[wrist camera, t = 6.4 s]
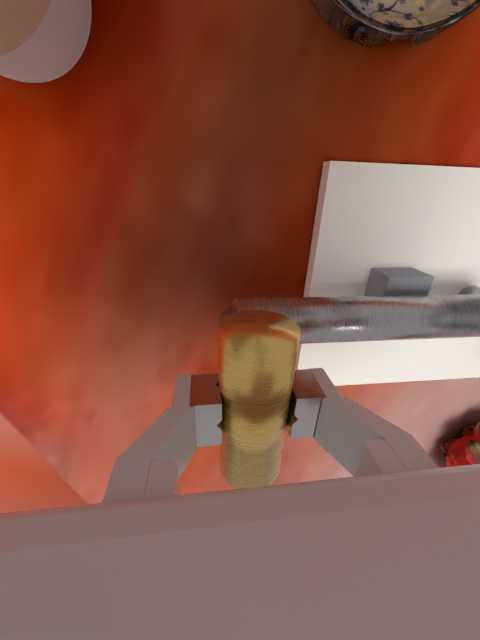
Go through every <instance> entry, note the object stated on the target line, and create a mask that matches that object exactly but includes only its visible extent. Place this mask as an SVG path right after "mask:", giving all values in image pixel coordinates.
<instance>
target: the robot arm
mask: <svg viewBox="0 0 480 640" xmlns="http://www.w3.org/2000/svg"><path fill="white" fill-rule="evenodd" d="M221 420H222V400H221V391H220V388H219V374H192V375H191V374H189V375H177V377H176V383H175V390H174V398H173V405H172V408H167V409H166V410H165V411H164V412H163V413H162V414H161V415H160V416H159V417H158V418H157V419H156V420H155V421H154V422H153V423H152V424H151V425H150V426H149V427H148V428H147V429H146V430H145V431H144V432H143V433H142V434H141V435H140V436H139V437H138V438H137V439H136V440H135V441H134V442H133V443H132V444H131V445H130V446H129V447H128V448H127V449H126V450H125V451H124V452H123V453H122V454H121V455H120V456H119V457H118V458H117V459H116V461H115V464H114V467H113V471H112V474H111V477H110V480H109V483H108V486H107V490H106V493H105V496H104V499H103V502H102V503H97V504H87V505H78V506H69V507H58V508H49V509H39V510H29V511H20V512H10V513H1V514H0V640H480V464H473V465H464V466H454V467H444V468H438V467H437V465H436V464H435V463H434V462H433V460H432V459H431V458H430V457H429V456H428V454H427V453H426V452H425V451H424V449H423V448H422V447H421V446H420V445H419V443H418V442H417V441H416V440H415V439H414V437H413V436H412V435H411V434H409V433H407V432H405V431H404V430H402V429H400V428H399V427H397V426H395V425H393V424H392V423H390V422H388V421H387V420H385V419H383V418H381V417H380V416H378V415H376V414H375V413H373V412H371V411H369V410H368V409H366V408H364V407H363V406H361V405H359V404H357V403H356V402H354V401H352V400H351V399H349V398H347V397H341V395H340V394H339V392H338V390H337V389H336V387H335V386H334V384H333V383H332V381H331V380H330V378H329V377H328V375H327V374H326V372H325V371H324V369H323V368H310V369H300V370H295V373H294V379H293V386H292V393H291V399H290V406H289V412H288V419H287V425H286V427H287V430H288V433H289V436H290V439H295V438H313V437H314V439H315V440H316V441H317V442H318V443H319V444H320V445H321V446H322V447H323V448H324V449H325V450H326V451H327V452H328V453H330V454H331V455H332V456H333V457H334V458H335V459H336V460H337V461H338V462H339V463H340V464H341V465H342V466H343V467H344V468H345V469H347V470H348V471H349V472H350V473H351V474H352V475H353V476H354V477H348V478H338V479H329V480H319V481H309V482H300V483H290V484H280V485H270V486H261V487H251V488H241V489H232V490H222V491H212V492H203V493H193V494H184V495H180V489H179V477H180V475H181V474H182V472H183V470H184V469H185V467H186V466H187V464H188V462H189V461H190V459H191V457H192V456H193V454H194V453H195V451H196V449H197V447H203V446H212V445H221V444H222V425H221Z"/></svg>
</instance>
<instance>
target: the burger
mask: <svg viewBox="0 0 480 640" xmlns="http://www.w3.org/2000/svg"><path fill="white" fill-rule="evenodd" d="M310 2H311V3H312V4H313V5H314V7H315V8H316V9H317V11H318V12H319V13H320V15H321V16H322V17H323V18H324V20H325V21H326V22H327V23H328V24H329V25H330V26H331V27H332V28H334V29H335V30H336V31H337V32H338V33H340V34H341V35H342V36H344V37H345V36H346V37H345V38H346V39H348V40H351V41H353V39H354V38H355V39H356V40H355V41H353V42H357V41H358V39H359V37H360V36H361V34H362V32H363V34H362V35H364V33H365V34H367V35H365V36H362V37H361V38H360V40H362V39H363V38H365V39H363V41H362V42H365V40H366V42H365V43H367V42H368V43H371V44H372V45H378V43H379V44H380V43H381V44H382V43H383V38H384V39H385V40H386V39H387V40H390V41H393V40H396V39H397V40H398V39H399V40H400V41H403V40H405V39H406V40H407V39H410V43H411V45H410V47H412V46H414V45H416V44H419V43H421V42H423V41H427V40H428V37H429V36H430V39H432V38H433V37H434V36H435V35H436V34H439V33H441V32H442V31H444V30H445V29H447V28H448V27H450V26H451V25H453V24H454V23H456V22H457V21H459V20H461V19H462V18H464V17H465V16H467V15H468V14H470V13H471V12H473V11H474V10H476V9H477V8H478V7H479V6H480V0H310ZM339 24H340V25H339ZM344 24H345V25H344ZM347 27H349V28H347ZM350 27H351V29H350ZM440 30H441V32H440ZM347 34H348V35H349V36H348V35H347ZM349 38H350V39H349ZM357 38H358V39H357ZM370 39H371V42H370ZM376 41H377V42H376ZM358 43H360V41H359V42H358ZM385 43H386V42H385ZM360 45H361V46H363V44H361V43H360ZM366 46H367V47H368V45H366ZM370 48H371V47H370Z"/></svg>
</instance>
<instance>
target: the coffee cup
mask: <svg viewBox="0 0 480 640" xmlns="http://www.w3.org/2000/svg"><path fill="white" fill-rule="evenodd" d="M91 16H92V7H91V0H0V75H1V76H4V77H6V78H9V79H12V80H16V81H20V82H26V83H43V82H48V81H52V80H55V79H57V78H59V77H61V76H63V75H64V74H66V73H67V72H68V71H70V70H71V69H72V68H73V67H74V66H75V64H76V63H77V62H78V60H79V59H80V57H81V56H82V54H83V52H84V50H85V47H86V44H87V42H88V38H89V34H90V28H91Z"/></svg>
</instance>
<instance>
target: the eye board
mask: <svg viewBox="0 0 480 640" xmlns="http://www.w3.org/2000/svg"><path fill="white" fill-rule="evenodd" d="M470 285H475V286H478V287H480V168H471V167H451V166H430V165H409V164H389V163H368V162H347V161H325V162H323V168H322V174H321V181H320V188H319V195H318V201H317V208H316V215H315V222H314V229H313V235H312V242H311V249H310V256H309V262H308V269H307V276H306V283H305V289H304V296H303V297H340V296H401V295H458V294H459V292H460V291H461V290H462V289H464V288H465V287H467V286H470ZM310 368H323V369H324V371H325V372H326V374H327V375H328V377H329V378H330V380H331V381H332V383H333V384H334V386H338V385H355V384H372V383H389V382H406V381H423V380H440V379H457V378H474V377H480V337H466V338H439V339H413V340H387V341H361V342H335V343H308V344H299V347H298V353H297V360H296V366H295V370H300V369H310Z"/></svg>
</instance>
